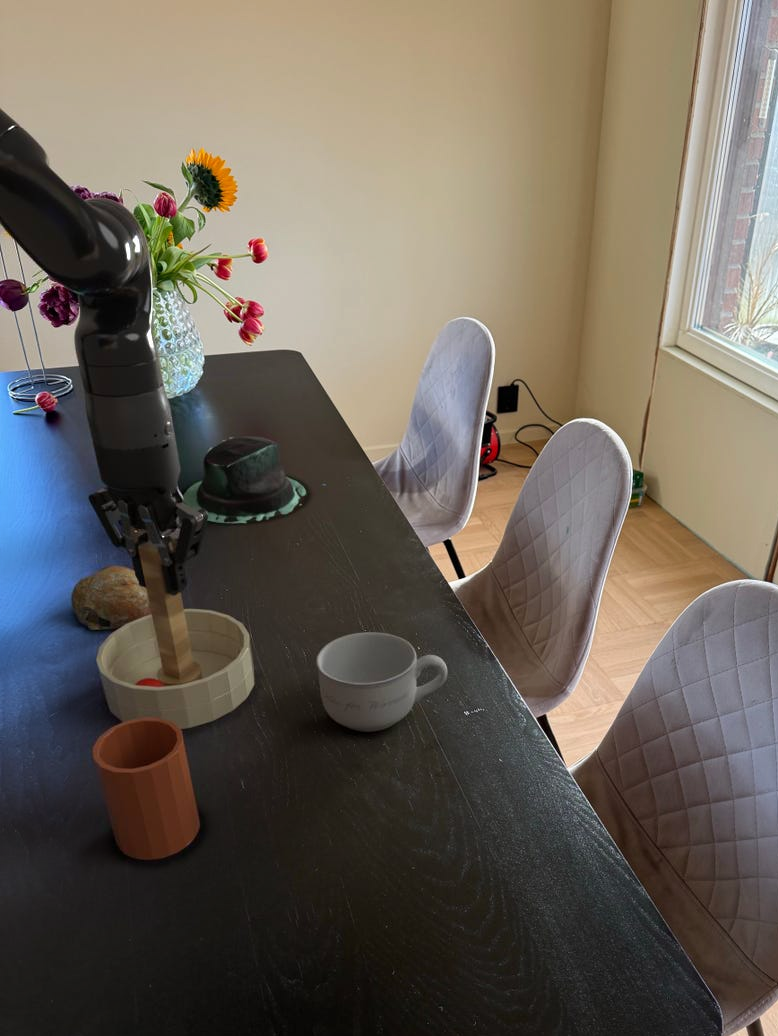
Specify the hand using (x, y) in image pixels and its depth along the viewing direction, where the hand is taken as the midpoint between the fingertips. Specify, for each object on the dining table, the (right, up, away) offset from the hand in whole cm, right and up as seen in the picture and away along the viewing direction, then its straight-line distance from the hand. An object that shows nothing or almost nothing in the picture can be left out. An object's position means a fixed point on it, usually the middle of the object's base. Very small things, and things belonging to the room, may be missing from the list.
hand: (163, 587), depth 94 cm
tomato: (-3, -12, +3) cm, 12 cm away
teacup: (+23, -14, +5) cm, 28 cm away
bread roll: (-14, -2, +21) cm, 25 cm away
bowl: (0, -11, +7) cm, 14 cm away
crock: (+4, -24, -11) cm, 27 cm away
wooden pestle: (0, -11, +7) cm, 13 cm away
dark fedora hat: (-5, +18, +52) cm, 55 cm away
